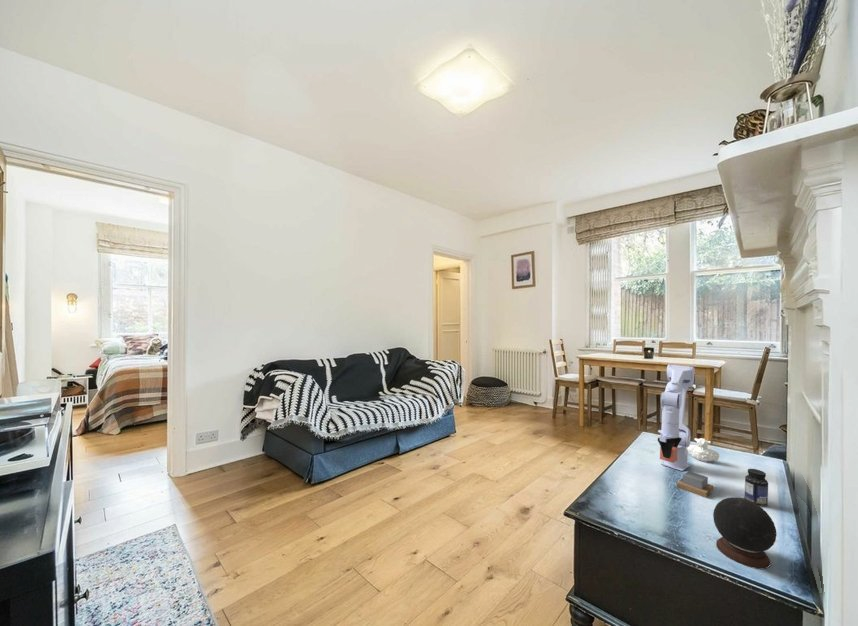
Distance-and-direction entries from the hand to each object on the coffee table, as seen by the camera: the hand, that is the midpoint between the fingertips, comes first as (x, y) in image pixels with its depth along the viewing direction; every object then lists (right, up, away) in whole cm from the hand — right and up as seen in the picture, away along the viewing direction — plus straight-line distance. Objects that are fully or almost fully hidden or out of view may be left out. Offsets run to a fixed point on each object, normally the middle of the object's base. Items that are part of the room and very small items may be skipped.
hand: (669, 456), depth 141 cm
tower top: (+5, -8, -7) cm, 12 cm away
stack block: (0, -2, 0) cm, 2 cm away
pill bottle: (+21, -10, -15) cm, 28 cm away
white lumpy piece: (+29, -10, +20) cm, 36 cm away
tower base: (+5, -10, -7) cm, 13 cm away
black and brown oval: (-9, -10, -43) cm, 45 cm away
